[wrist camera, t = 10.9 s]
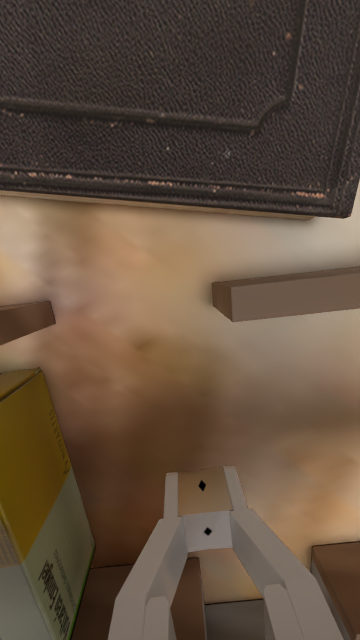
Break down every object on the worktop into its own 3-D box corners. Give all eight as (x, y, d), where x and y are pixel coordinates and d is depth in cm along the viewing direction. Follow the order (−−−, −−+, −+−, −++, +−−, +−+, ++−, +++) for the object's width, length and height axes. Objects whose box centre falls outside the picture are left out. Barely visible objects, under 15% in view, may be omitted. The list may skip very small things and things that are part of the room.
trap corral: (383, 597, 13) (442, 689, 10) (44, 630, 13) (8, 730, 10) (447, 257, 8) (595, 246, 5) (-88, 316, 8) (-229, 338, 6)
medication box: (101, 544, 12) (67, 672, 8) (57, 550, 12) (1, 683, 8) (47, 363, 9) (-44, 426, 5) (-10, 371, 9) (-142, 439, 5)
